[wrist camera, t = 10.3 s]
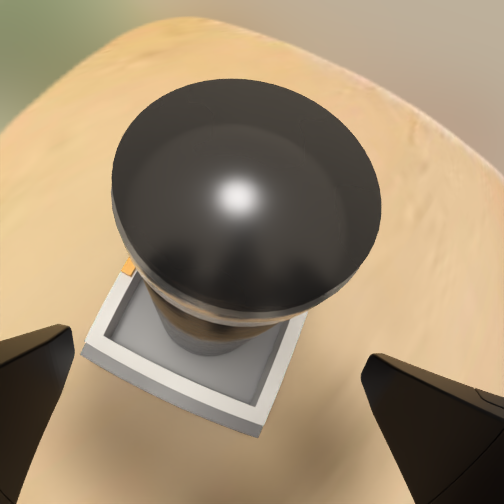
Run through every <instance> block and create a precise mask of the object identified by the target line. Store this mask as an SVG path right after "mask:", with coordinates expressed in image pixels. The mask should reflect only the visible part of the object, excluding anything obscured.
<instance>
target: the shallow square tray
mask: <svg viewBox="0 0 504 504" xmlns="http://www.w3.org/2000/svg"><path fill="white" fill-rule="evenodd" d="M307 313H308V311H306V312H304V313H303V314H300V315H298V316H296V317H294V318H291V319H289V320H286V321H282V322H280V323H278V324H277V325H275V326H273V327H272V328H270V329H269V330H267V331H265V332H264V333H262V334H260V335H259V336H257V337H255V338H253V339H252V340H250V341H248V342H247V343H245V344H243V345H242V346H240V347H238V348H236V349H235V350H233V351H231V352H229V353H226V354H223V355H219V356H200V355H196V354H193V353H190V352H188V351H186V350H184V349H183V348H181V347H180V346H179V345H177V344H176V343H175V342H174V341H173V340H172V339H171V338H170V336H169V335H168V333H167V332H166V330H165V328H164V326H163V324H162V322H161V319H160V317H159V315H158V313H157V311H156V308H155V306H154V304H153V302H152V299H151V297H150V295H149V292H148V290H147V288H146V285H145V283H144V281H143V278H142V276H141V275H140V274H139V272H138V271H137V269H136V267H135V266H134V264H133V263H132V261H131V259H130V257H129V258H128V260H127V261H126V263H125V265H124V267H123V268H122V270H121V272H120V274H119V275H118V277H117V279H116V281H115V283H114V285H113V286H112V288H111V290H110V292H109V294H108V296H107V298H106V299H105V301H104V303H103V305H102V307H101V309H100V311H99V313H98V315H97V317H96V319H95V321H94V323H93V325H92V327H91V329H90V331H89V333H88V335H87V337H86V339H85V341H84V342H86V343H85V345H84V347H83V349H82V351H81V354H80V355H82V356H83V357H85V358H86V359H88V360H90V361H91V362H93V363H95V364H96V365H98V366H100V367H101V368H103V369H105V370H107V371H108V372H110V373H112V374H114V375H115V376H117V377H119V378H121V379H123V380H125V381H126V382H128V383H130V384H132V385H134V386H136V387H138V388H140V389H142V390H144V391H146V392H148V393H150V394H152V395H154V396H156V397H158V398H160V399H162V400H164V401H166V402H168V403H170V404H173V405H175V406H177V407H179V408H181V409H184V410H186V411H188V412H190V413H193V414H195V415H197V416H200V417H202V418H205V419H207V420H210V421H212V422H215V423H217V424H220V425H222V426H225V427H228V428H230V429H233V430H236V431H238V432H241V433H244V434H247V435H250V436H253V437H256V438H258V437H259V435H260V432H261V430H262V428H263V426H264V424H265V422H266V419H267V417H268V415H269V412H270V410H271V407H272V405H273V403H274V400H275V398H276V395H277V393H278V390H279V388H280V385H281V383H282V380H283V378H284V375H285V373H286V370H287V367H288V365H289V362H290V360H291V357H292V354H293V352H294V349H295V346H296V344H297V341H298V338H299V335H300V333H301V330H302V327H303V324H304V321H305V319H306V316H307Z"/></svg>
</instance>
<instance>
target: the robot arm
mask: <svg viewBox="0 0 504 504" xmlns="http://www.w3.org/2000/svg"><path fill="white" fill-rule="evenodd" d="M74 354H75V349H74V343H73V337H72V331H71V328H70V327H69V326H66V325H61V324H56V325H53V326H50V327H46V328H43V329H40V330H36V331H33V332H30V333H26V334H23V335H20V336H16V337H13V338H10V339H6V340H3V341H0V504H16V503H17V500H18V497H19V494H20V491H21V489H22V486H23V483H24V480H25V478H26V475H27V472H28V470H29V467H30V465H31V462H32V459H33V457H34V455H35V452H36V450H37V447H38V445H39V442H40V440H41V438H42V435H43V433H44V431H45V428H46V426H47V424H48V422H49V420H50V417H51V415H52V413H53V411H54V409H55V406H56V404H57V402H58V400H59V398H60V396H61V393H62V390H63V388H64V385H65V382H66V379H67V376H68V373H69V370H70V367H71V364H72V361H73V359H74ZM361 382H362V385H363V387H364V390H365V393H366V396H367V398H368V401H369V404H370V407H371V410H372V412H373V415H374V417H375V419H376V421H377V423H378V425H379V427H380V429H381V431H382V433H383V436H384V438H385V440H386V442H387V444H388V446H389V448H390V450H391V452H392V454H393V456H394V459H395V461H396V463H397V465H398V467H399V469H400V471H401V473H402V476H403V478H404V480H405V482H406V484H407V486H408V489H409V491H410V493H411V495H412V497H413V500H414V502H415V504H504V397H501V396H497V395H494V394H491V393H488V392H485V391H482V390H480V389H477V388H475V389H474V388H473V387H470V386H467V385H464V384H462V383H459V382H456V381H453V380H451V379H448V378H445V377H442V376H440V375H437V374H434V373H432V372H429V371H426V370H424V369H421V368H419V367H416V366H413V365H411V364H408V363H406V362H403V361H401V360H398V359H395V358H393V357H390V356H388V355H385V354H382V353H375V354H371V355H370V356H369V358H368V360H367V362H366V365H365V367H364V369H363V371H362V373H361Z"/></svg>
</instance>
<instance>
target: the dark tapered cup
mask: <svg viewBox="0 0 504 504" xmlns="http://www.w3.org/2000/svg"><path fill="white" fill-rule="evenodd" d="M111 197H112V209H113V214H114V218H115V222H116V226H117V228H118V231H119V233H120V236H121V238H122V241H123V243H124V245H125V248H126V250H127V252H128V254H129V257H130V259H131V261H132V263H133V264H134V266H135V267H136V269H137V271H138V272H139V274H140V275H141V276H142V278H143V281H144V283H145V285H146V288H147V290H148V292H149V295H150V297H151V299H152V302H153V304H154V306H155V308H156V311H157V313H158V315H159V317H160V319H161V322H162V324H163V326H164V328H165V330H166V332H167V333H168V335H169V336H170V338H171V339H172V340H173V341H174V342H175V343H176V344H177V345H179V346H180V347H181V348H183V349H184V350H186V351H188V352H190V353H193V354H196V355H200V356H219V355H223V354H226V353H229V352H231V351H233V350H235V349H236V348H238V347H240V346H242V345H243V344H245V343H247V342H248V341H250V340H252V339H253V338H255V337H257V336H259V335H260V334H262V333H264V332H265V331H267V330H269V329H270V328H272V327H273V326H275V325H277V324H278V323H280V322H282V321H286V320H289V319H291V318H294V317H296V316H298V315H300V314H303V313H304V312H306V311H308V310H310V309H311V308H313V307H315V306H316V305H318V304H320V303H321V302H323V301H324V300H326V299H327V298H329V297H330V296H332V295H333V294H335V293H336V292H338V291H339V290H340V289H341V288H342V287H343V286H344V285H345V284H346V283H347V282H348V281H349V280H350V279H351V278H352V276H353V275H354V274H355V273H356V271H357V270H358V269H359V267H360V265H361V264H362V263H363V261H364V260H365V259H366V257H367V256H368V254H369V252H370V250H371V248H372V247H373V245H374V242H375V239H376V236H377V234H378V231H379V225H380V220H381V195H380V188H379V184H378V180H377V177H376V174H375V171H374V168H373V166H372V164H371V161H370V159H369V158H368V156H367V154H366V152H365V150H364V149H363V147H362V146H361V144H360V143H359V142H358V140H357V139H356V137H355V136H354V135H353V134H352V133H351V132H350V130H349V129H348V128H347V127H346V126H345V125H344V124H343V123H342V122H341V121H340V120H339V119H337V118H336V117H335V116H334V115H333V114H331V113H330V112H329V111H327V110H326V109H325V108H323V107H322V106H320V105H319V104H317V103H316V102H314V101H312V100H310V99H308V98H307V97H305V96H303V95H301V94H298V93H296V92H294V91H291V90H289V89H286V88H283V87H280V86H277V85H274V84H269V83H265V82H261V81H254V80H247V79H216V80H209V81H203V82H198V83H194V84H190V85H187V86H184V87H182V88H179V89H176V90H174V91H172V92H170V93H168V94H166V95H164V96H162V97H161V98H159V99H158V100H156V101H155V102H153V103H151V104H150V105H149V106H148V107H147V108H146V109H144V110H143V111H142V112H141V113H140V114H139V115H138V116H137V117H136V118H135V120H134V121H133V122H132V123H131V124H130V126H129V127H128V129H127V130H126V132H125V133H124V135H123V137H122V139H121V141H120V143H119V146H118V148H117V151H116V154H115V158H114V162H113V170H112V189H111Z"/></svg>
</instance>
